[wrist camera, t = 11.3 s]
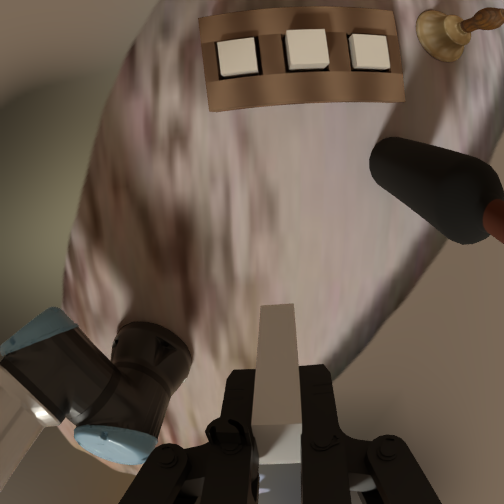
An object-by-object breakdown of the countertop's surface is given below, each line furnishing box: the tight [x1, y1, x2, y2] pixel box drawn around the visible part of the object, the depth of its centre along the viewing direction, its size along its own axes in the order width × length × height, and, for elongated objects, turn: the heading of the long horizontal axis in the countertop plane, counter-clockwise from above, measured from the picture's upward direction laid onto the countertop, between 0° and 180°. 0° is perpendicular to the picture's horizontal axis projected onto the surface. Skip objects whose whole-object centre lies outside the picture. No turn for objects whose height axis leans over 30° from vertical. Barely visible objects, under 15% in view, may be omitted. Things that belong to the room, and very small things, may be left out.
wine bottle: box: [369, 137, 504, 245], centre depth 25 cm, size 8×8×30 cm
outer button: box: [347, 34, 390, 72], centre depth 30 cm, size 4×4×5 cm
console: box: [198, 6, 405, 112], centre depth 32 cm, size 23×12×5 cm, turn 97°
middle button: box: [285, 29, 329, 71], centre depth 29 cm, size 4×4×5 cm
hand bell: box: [416, 8, 504, 62], centre depth 23 cm, size 8×8×16 cm
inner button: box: [217, 37, 260, 79], centre depth 32 cm, size 4×4×5 cm
